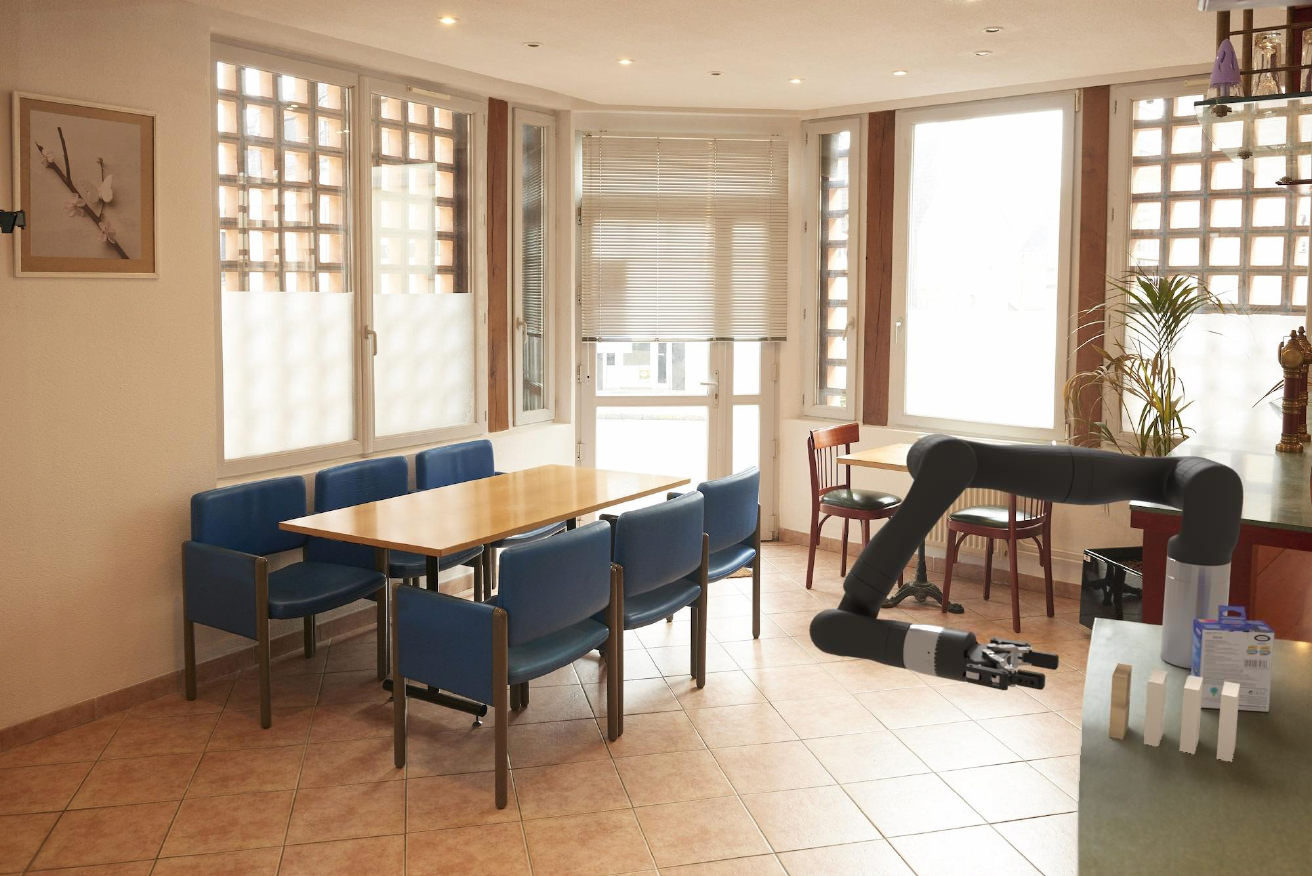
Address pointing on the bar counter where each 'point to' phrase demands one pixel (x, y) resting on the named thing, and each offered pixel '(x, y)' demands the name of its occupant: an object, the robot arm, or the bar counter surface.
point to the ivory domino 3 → (1228, 721)
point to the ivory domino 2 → (1191, 714)
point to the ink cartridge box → (1233, 658)
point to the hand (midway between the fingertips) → (1051, 672)
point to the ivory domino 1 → (1155, 707)
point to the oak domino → (1120, 701)
